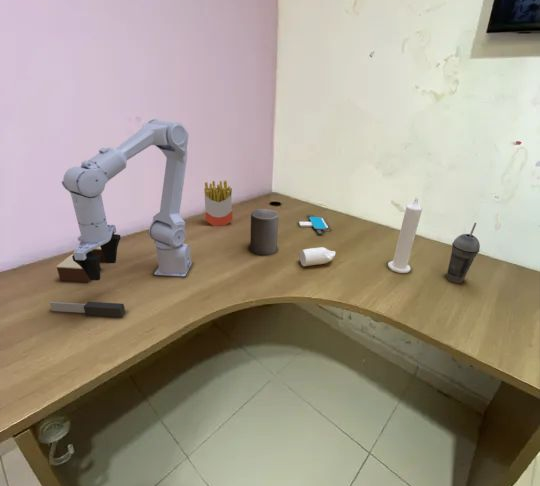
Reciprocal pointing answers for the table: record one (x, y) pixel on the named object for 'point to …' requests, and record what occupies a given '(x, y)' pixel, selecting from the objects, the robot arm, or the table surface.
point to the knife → (91, 308)
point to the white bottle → (315, 256)
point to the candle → (406, 238)
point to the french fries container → (218, 203)
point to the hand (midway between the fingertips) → (103, 270)
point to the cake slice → (99, 253)
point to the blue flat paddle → (316, 224)
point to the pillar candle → (264, 231)
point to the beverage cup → (462, 256)
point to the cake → (72, 271)
